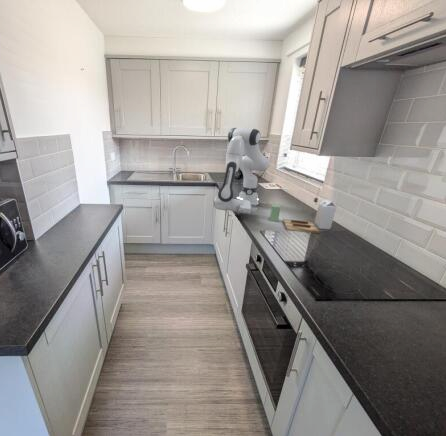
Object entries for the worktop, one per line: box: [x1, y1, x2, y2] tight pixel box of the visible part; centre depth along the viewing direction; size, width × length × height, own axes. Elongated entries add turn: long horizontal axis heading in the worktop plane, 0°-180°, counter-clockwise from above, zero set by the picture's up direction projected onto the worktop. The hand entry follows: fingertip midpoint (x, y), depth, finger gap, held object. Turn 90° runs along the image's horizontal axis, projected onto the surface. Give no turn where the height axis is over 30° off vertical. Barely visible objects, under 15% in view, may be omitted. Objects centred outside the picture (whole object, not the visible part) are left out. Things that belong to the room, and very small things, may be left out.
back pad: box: [269, 204, 282, 222], centre depth 157 cm, size 4×5×10 cm
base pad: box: [282, 218, 320, 234], centre depth 148 cm, size 16×18×3 cm
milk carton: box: [313, 197, 337, 230], centre depth 146 cm, size 7×7×19 cm
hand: (257, 207), depth 159 cm, fingers open, 8 cm apart
